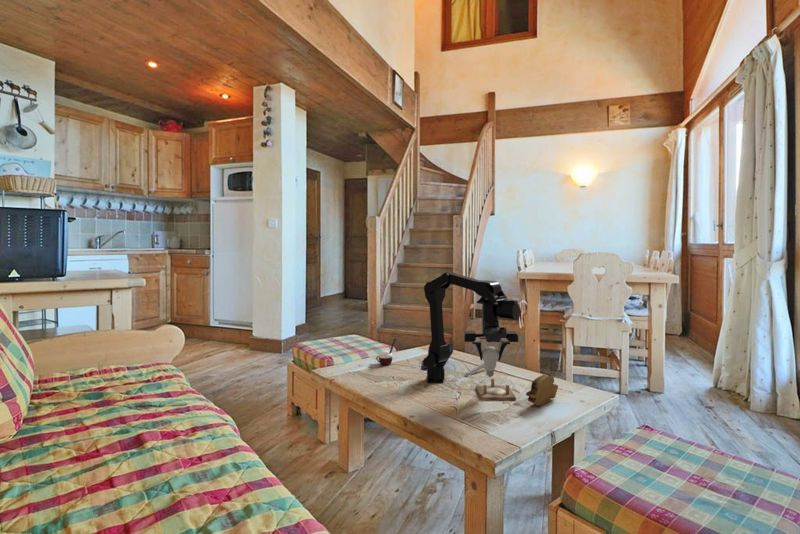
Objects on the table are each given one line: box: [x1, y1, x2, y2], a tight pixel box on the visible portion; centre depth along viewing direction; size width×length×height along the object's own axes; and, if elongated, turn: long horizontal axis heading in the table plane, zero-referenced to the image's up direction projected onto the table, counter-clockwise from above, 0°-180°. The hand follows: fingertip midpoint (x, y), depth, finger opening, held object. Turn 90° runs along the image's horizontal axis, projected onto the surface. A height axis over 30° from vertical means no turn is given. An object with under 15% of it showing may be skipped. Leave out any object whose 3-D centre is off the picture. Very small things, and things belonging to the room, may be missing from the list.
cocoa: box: [375, 338, 397, 366], centre depth 192 cm, size 10×6×12 cm, turn 48°
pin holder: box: [475, 378, 517, 401], centre depth 154 cm, size 12×12×4 cm
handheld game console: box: [421, 341, 454, 371], centre depth 190 cm, size 16×13×9 cm
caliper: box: [464, 362, 497, 377], centre depth 181 cm, size 20×1×6 cm, turn 131°
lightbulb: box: [482, 345, 499, 378], centre depth 151 cm, size 6×6×11 cm
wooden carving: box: [525, 374, 559, 407], centre depth 144 cm, size 16×5×10 cm, turn 134°
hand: (490, 360), depth 151 cm, fingers closed on lightbulb, 6 cm apart
